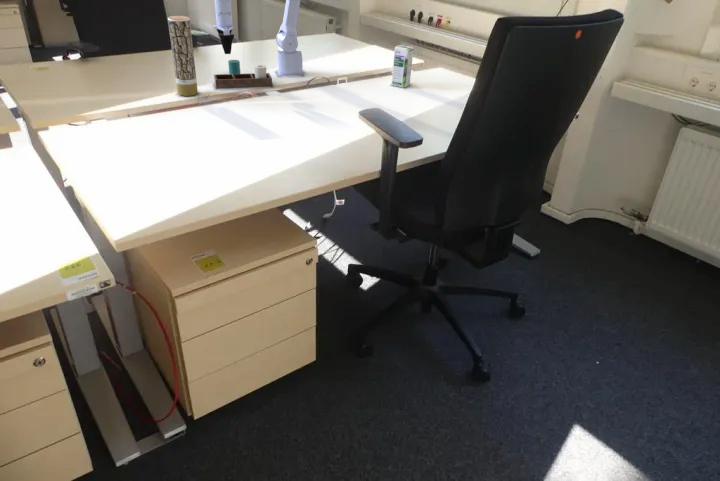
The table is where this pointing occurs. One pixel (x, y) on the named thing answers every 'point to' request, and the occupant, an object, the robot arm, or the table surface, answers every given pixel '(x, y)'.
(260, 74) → the roll
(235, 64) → the paper roll
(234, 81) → the rack
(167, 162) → the table surface
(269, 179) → the table surface
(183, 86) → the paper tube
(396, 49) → the syrup box
